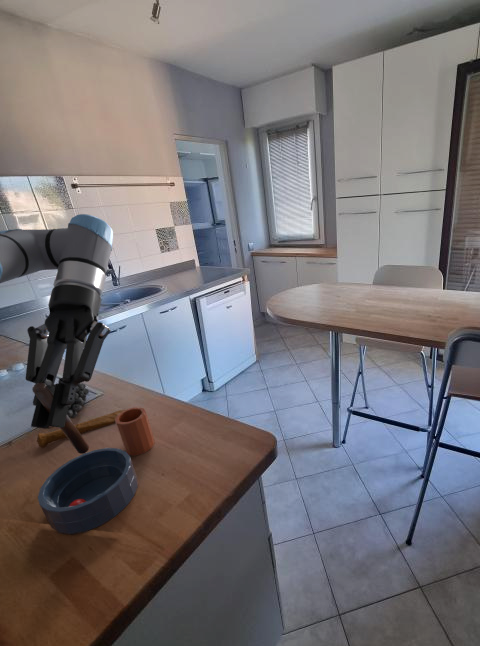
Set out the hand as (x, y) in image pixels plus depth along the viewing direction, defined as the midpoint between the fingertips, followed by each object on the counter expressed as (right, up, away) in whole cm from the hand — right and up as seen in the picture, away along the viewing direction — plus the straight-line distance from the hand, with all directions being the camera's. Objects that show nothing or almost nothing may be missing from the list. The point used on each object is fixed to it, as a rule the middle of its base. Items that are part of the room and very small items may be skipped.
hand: (47, 426), depth 51 cm
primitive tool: (-14, -10, +32) cm, 36 cm away
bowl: (+1, -17, +12) cm, 21 cm away
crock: (+3, -11, +24) cm, 27 cm away
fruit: (-24, -7, +40) cm, 47 cm away
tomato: (0, -17, +8) cm, 18 cm away
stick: (+1, -7, +8) cm, 10 cm away
